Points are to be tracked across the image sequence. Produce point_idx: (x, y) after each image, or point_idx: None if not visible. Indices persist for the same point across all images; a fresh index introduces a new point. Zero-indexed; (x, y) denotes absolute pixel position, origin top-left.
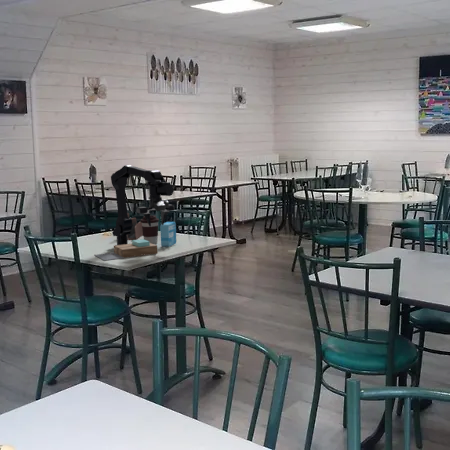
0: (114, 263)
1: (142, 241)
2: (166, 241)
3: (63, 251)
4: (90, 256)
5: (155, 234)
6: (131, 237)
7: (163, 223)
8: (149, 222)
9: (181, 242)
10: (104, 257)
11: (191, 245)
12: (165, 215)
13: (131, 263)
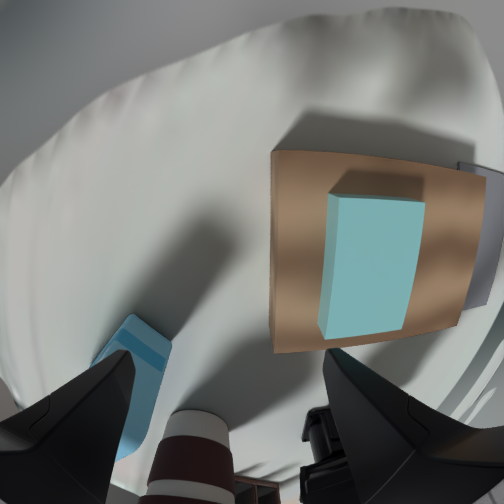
0: (495, 98)
1: (378, 244)
2: (136, 334)
3: (472, 395)
4: (496, 292)
5: (174, 442)
6: (239, 487)
7: (109, 357)
8: (373, 375)
9: (68, 366)
10: (495, 228)
11: (32, 274)
12: (14, 429)
13: (452, 40)
